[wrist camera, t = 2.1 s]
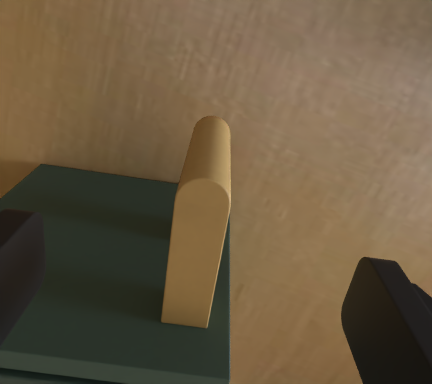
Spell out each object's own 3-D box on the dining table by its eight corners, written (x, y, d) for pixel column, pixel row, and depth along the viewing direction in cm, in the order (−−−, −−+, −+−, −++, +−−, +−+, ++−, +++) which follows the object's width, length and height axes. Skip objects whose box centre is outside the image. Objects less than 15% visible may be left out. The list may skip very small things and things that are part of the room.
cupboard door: (34, 64, 24) (-230, 147, 10) (247, 98, 25) (270, 221, 11) (41, 175, 28) (-147, 349, 14) (227, 203, 28) (226, 396, 14)
